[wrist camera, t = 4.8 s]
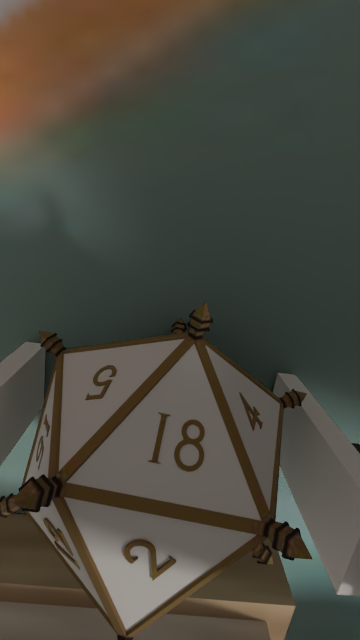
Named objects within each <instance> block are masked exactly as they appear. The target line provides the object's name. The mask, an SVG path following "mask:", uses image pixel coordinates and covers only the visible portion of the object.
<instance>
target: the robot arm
mask: <svg viewBox="0 0 360 640" xmlns="http://www.w3.org/2000/svg"><path fill="white" fill-rule="evenodd" d="M40 345H41V344H40V343H32V342H25V343H24V344H22V345H21V346H20V347H19V348H18V349H16V350H15V351H14V352H13V353H11V354H10V355H9V356H8V357H6V358H5V359H4V360H3V361H1V362H0V466H1V465H2V463H3V462H4V460H5V459H6V457H7V456H8V455H9V453H10V452H11V450H12V449H13V448H14V446H15V445H16V443H17V442H18V441H19V439H20V438H21V436H22V435H23V433H24V432H25V431H26V429H27V428H28V426H29V425H30V424H31V422H32V421H33V419H34V418H35V416H36V415H37V414H38V412H39V411H40V409H41V408H42V407H43V405H44V377H45V348H44V347H41V346H40ZM292 389H294V390H295V391H299V392H303V393H307V395H306V397H305V398H304V400H303V402H302V403H301V405H302V406H295V408H294V409H293V408H290V407H287V408H285V409H284V412H283V426H282V439H281V452H280V467H281V470H282V472H283V474H284V476H285V479H286V481H287V483H288V485H289V488H290V490H291V492H292V494H293V497H294V499H295V501H296V503H297V506H298V508H299V510H300V512H301V515H302V517H303V519H304V521H305V524H306V526H307V528H308V530H309V533H310V535H311V537H312V539H313V542H314V544H315V546H316V548H317V551H318V553H319V555H320V557H321V560H322V562H323V564H324V566H325V569H326V571H327V573H328V575H329V578H330V580H331V582H332V584H333V587H334V589H335V591H336V593H337V595H350V596H360V445H359V444H355V443H351V442H350V441H349V440H348V439H347V437H346V436H345V435H344V434H343V433H342V431H341V430H340V429H339V428H338V426H337V425H336V424H335V423H334V422H333V420H332V419H331V418H330V417H329V415H328V414H327V413H326V412H325V410H324V409H323V408H322V407H321V406H320V404H319V403H318V402H317V401H316V399H315V398H314V397H313V396H312V395H311V393H310V392H309V391H308V390H307V388H306V387H305V386H304V385H303V384H302V382H301V381H300V380H299V379H298V377H297V376H296V375H293V374H285V373H277V377H276V381H275V385H274V389H273V393H274V394H275V395H276V396H277V397H279V398H280V397H282V396H284V395H285V392H288V393H289V392H291V391H292Z"/></svg>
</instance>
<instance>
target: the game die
mask: <svg viewBox="0 0 360 640" xmlns="http://www.w3.org/2000/svg"><path fill="white" fill-rule="evenodd" d="M189 317H190V318H191V320H190V321H189V323H188V325H187V326H189V332H185V330H186V324H185V323H183V321H182V319H180V320H179V321H178V322H175V323H174V324H173V325H172V327H173V330H171V332H172V333H173V334H170V335H163V336H156V337H148V338H141V339H134V340H126V341H119V342H112V343H104V344H97V345H90V346H83V347H75V348H68V349H66V348H65V347H64V346H63V344H62V339H60V340H59V339H58V337H57V336H56V335H57V334H56V333H55V334H51V333H47V332H42V331H39V334H40V339H41V345H40V346H41V347H44V348H46V349H47V351H46V352H47V353H49V352H51V353H53V354H54V355H55V356H56V357H57V358H56V361H55V365H54V369H53V372H52V376H51V380H50V383H49V387H48V391H47V395H46V398H45V402H44V406H43V409H42V413H41V417H40V420H39V424H38V428H37V431H36V435H35V439H34V442H33V446H32V450H31V453H30V457H29V461H28V464H27V468H26V472H25V476H24V479H23V483H22V486H21V487H20V488H19V493H18V494H17V495H13V493H12V494H10V495H9V496H8V497H5V496H2V497H1V498H0V517H3V518H6V517H7V515H9V514H15V513H16V511H17V510H18V509H19V508H20V507H22V511H25V513H26V514H27V515H28V517H29V518H30V519H31V521H32V522H33V523H34V525H35V526H36V527H37V529H38V530H39V531H40V533H41V534H42V535H43V537H44V538H45V539H46V541H47V542H48V543H49V545H50V546H51V547H52V549H53V550H54V551H55V553H56V554H57V555H58V557H59V558H60V559H61V561H62V562H63V563H64V564H65V566H66V567H67V568H68V570H69V571H70V572H71V574H72V575H73V576H74V578H75V579H76V580H77V582H78V583H79V584H80V586H81V587H82V588H83V590H84V591H85V592H86V594H87V595H88V596H89V598H90V599H91V600H92V602H93V603H94V604H95V606H96V607H97V608H98V610H99V611H100V612H101V614H102V615H103V616H104V618H105V619H106V620H107V622H108V623H109V624H110V626H111V627H112V628H113V630H114V631H115V632H116V634H117V640H133V638H134V637H135V636H136V635H138V634H139V633H140V632H142V631H143V630H144V629H146V628H147V627H148V626H150V625H151V624H152V623H154V622H155V621H156V620H158V619H159V618H160V617H162V616H163V615H165V614H166V613H167V612H169V611H170V610H171V609H173V608H174V607H175V606H177V605H178V604H179V603H181V602H182V601H183V600H185V599H186V598H188V597H189V596H190V595H192V594H193V593H194V592H196V591H197V590H198V589H200V588H201V587H202V586H204V585H205V584H206V583H208V582H209V581H210V580H212V579H213V578H215V577H216V576H217V575H219V574H220V573H221V572H223V571H224V570H225V569H227V568H228V567H229V566H231V565H232V564H233V563H235V562H236V561H238V560H239V559H240V558H242V557H243V556H244V555H246V554H247V553H248V552H250V551H251V552H252V557H253V558H256V559H257V563H258V564H263V565H267V564H273V560H272V554H273V553H272V552H271V550H270V548H269V547H268V545H266V546H265V544H264V543H263V541H265V540H266V539H267V538H268V539H269V540H270V542H271V543H272V548H273V549H274V550H278V551H281V552H282V557H283V558H286V559H289V560H294V558H303V559H312V557H311V555H310V553H309V551H308V549H307V548H306V546H305V544H304V542H303V540H302V538H301V534H300V530H299V529H298V528H296V529H293V528H291V527H289V523H288V522H284V523H279V522H276V521H275V519H276V505H277V492H278V479H279V465H280V452H281V439H282V426H283V412H284V409H285V408H287V407H290V408H293V409H294V408H295V406H302V405H301V403H302V402H303V400H304V398H305V397H306V395H307V393H303V392H299V391H295V390H294V389H292V391H291V392H289V393H288V392H285V395H284V396H282V397H280V398H279V397H277V396H276V395H275V394H274V393H272V392H271V391H270V390H269V389H267V388H266V387H265V386H264V385H262V384H261V383H260V382H259V381H257V380H256V379H255V378H254V377H252V376H251V375H250V374H249V373H247V372H246V371H245V370H244V369H242V368H241V367H240V366H239V365H237V364H236V363H235V362H234V361H232V360H231V359H230V358H229V357H227V356H226V355H225V354H224V353H222V352H221V351H220V350H219V349H217V348H216V347H215V346H214V345H212V344H211V343H210V342H209V341H207V340H206V339H205V338H204V337H203V334H204V333H205V332H206V331H209V330H210V329H209V324H210V323H213V320H212V318H211V317H210V314H209V311H208V307H207V303H206V302H205V303H204V304H203V305H202V306H201V307H200V308H198V309H197V310H194V311H193V312H192V313H191V314H190V316H189ZM273 565H274V564H273Z"/></svg>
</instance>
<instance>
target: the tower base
mask: <svg viewBox="0 0 360 640" xmlns="http://www.w3.org/2000/svg"><path fill="white" fill-rule="evenodd" d="M263 543H264V544H265V546H266V545H268V547H269V548H270V550H271V552H272V553H273V554H272V560H273V564H274V565H273V564H267V565H263V564H258V563H257V559H256V558H253V557H252V552H251V551H250V552H248V553H247V554H246V555H244V556H243V557H242V558H240V559H239V560H238V561H236V562H235V563H233V564H232V565H231V566H229V567H228V568H227V569H225V570H224V571H223V572H221V573H220V574H219V575H217V576H216V577H215V578H213V579H212V580H210V581H209V582H208V583H206V584H205V585H204V586H202V587H201V588H200V589H198V590H197V591H196V592H194V593H193V594H192V595H190V596H189V597H188V598H186V599H185V600H183V601H182V602H181V603H179V604H178V605H177V606H175V607H174V608H173V609H171V610H170V611H169V612H167V613H166V614H165V615H163V616H162V617H160V618H159V619H158V620H156V621H155V622H154V623H152V624H151V625H150V626H148V627H147V628H146V629H144V630H143V631H142V632H140V633H139V634H138V635H136V636H135V637H134V638H133V640H284V638H285V635H286V632H287V630H288V627H289V624H290V621H291V618H292V615H293V612H294V609H295V603H294V600H293V596H292V593H291V590H290V587H289V584H288V581H287V578H286V575H285V572H284V568H283V565H282V562H281V559H280V556H279V553H278V550H274V549H273V548H272V543H271V542H270V540H269V539H268V538H267V539H266V540H265V541H263ZM0 640H117V634H116V632H115V631H114V630H113V628H112V627H111V626H110V624H109V623H108V622H107V620H106V619H105V618H104V616H103V615H102V614H101V612H100V611H99V610H98V608H97V607H96V606H95V604H94V603H93V602H92V600H91V599H90V598H89V596H88V595H87V594H86V592H85V591H84V590H83V588H82V587H81V586H80V584H79V583H78V582H77V580H76V579H75V578H74V576H73V575H72V574H71V572H70V571H69V570H68V568H67V567H66V566H65V564H64V563H63V562H62V561H61V559H60V558H59V557H58V555H57V554H56V553H55V551H54V550H53V549H52V547H51V546H50V545H49V543H48V542H47V541H46V539H45V538H44V537H43V535H42V534H41V533H40V531H39V530H38V529H37V527H36V526H35V525H34V523H33V522H32V521H31V519H30V518H29V517H28V515H25V514H9V515H7V517H6V518H3V517H0Z"/></svg>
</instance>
